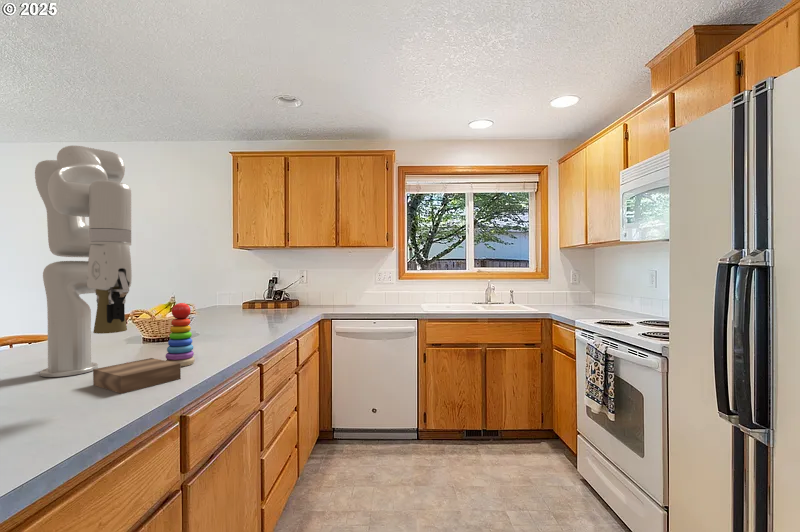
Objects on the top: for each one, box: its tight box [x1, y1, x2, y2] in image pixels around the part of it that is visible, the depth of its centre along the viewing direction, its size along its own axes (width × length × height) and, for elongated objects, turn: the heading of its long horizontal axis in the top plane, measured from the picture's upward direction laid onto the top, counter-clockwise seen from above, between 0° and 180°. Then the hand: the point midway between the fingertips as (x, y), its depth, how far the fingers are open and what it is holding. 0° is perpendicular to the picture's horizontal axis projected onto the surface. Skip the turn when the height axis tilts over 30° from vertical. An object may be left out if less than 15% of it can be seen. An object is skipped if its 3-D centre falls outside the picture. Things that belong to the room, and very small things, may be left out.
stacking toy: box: [165, 302, 195, 367], centre depth 120 cm, size 8×8×19 cm
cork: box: [93, 286, 128, 335], centre depth 87 cm, size 6×6×11 cm
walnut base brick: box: [92, 357, 182, 395], centre depth 101 cm, size 14×14×4 cm
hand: (110, 320), depth 87 cm, fingers closed on cork, 3 cm apart
